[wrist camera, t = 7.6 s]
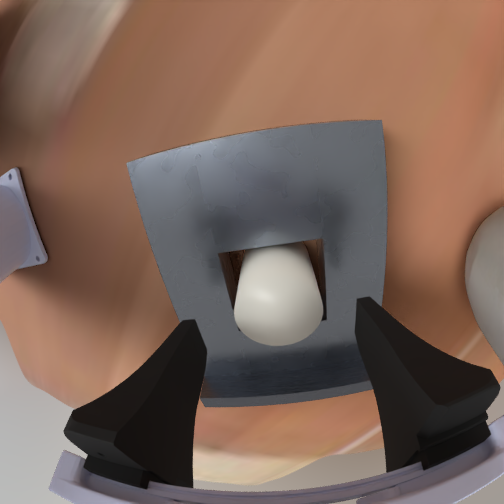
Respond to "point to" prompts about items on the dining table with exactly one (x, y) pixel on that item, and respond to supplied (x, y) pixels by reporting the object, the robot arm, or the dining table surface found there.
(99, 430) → the robot arm
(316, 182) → the jig
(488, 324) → the grey green bottle
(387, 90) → the dining table surface
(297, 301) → the white rounded capsule
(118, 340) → the dining table surface
